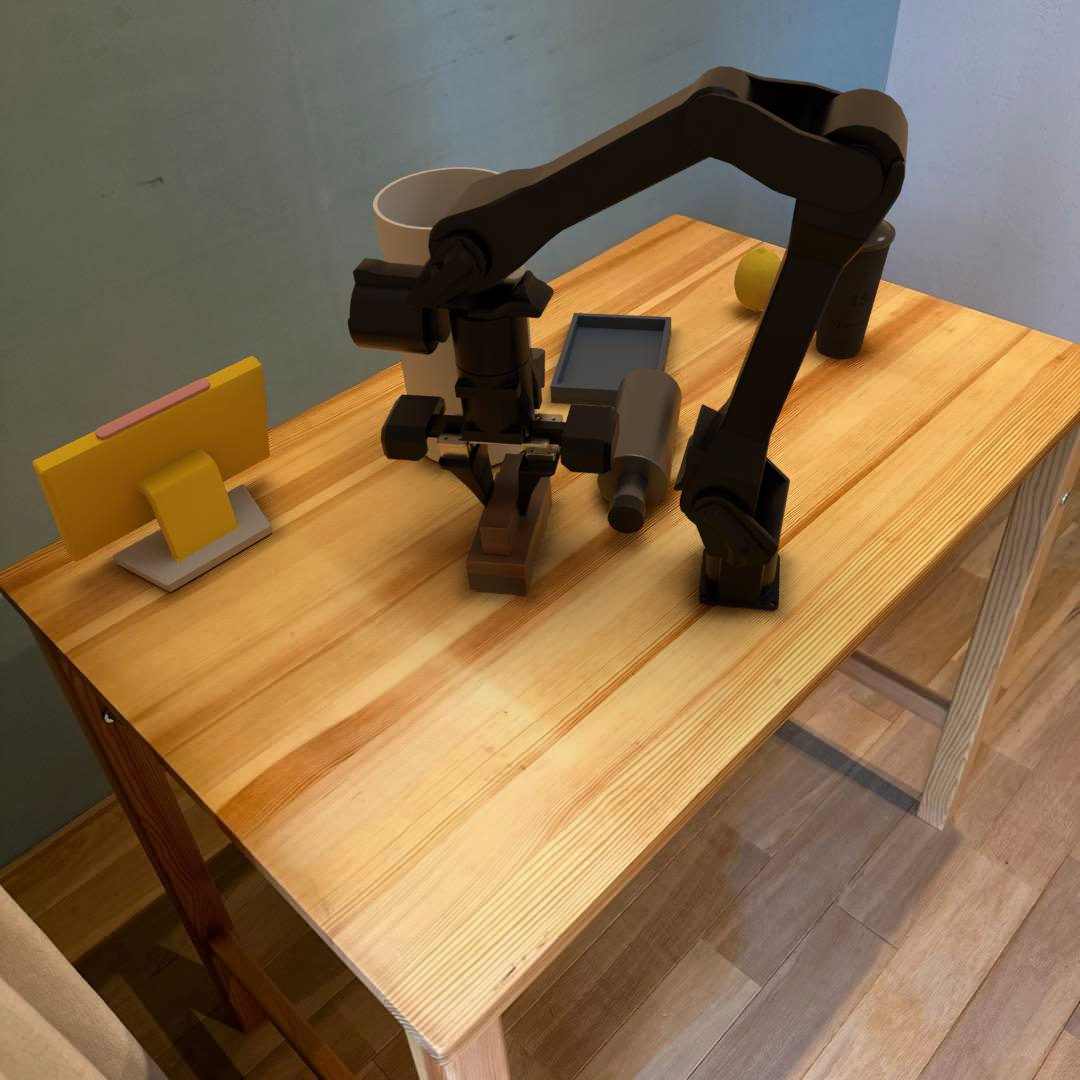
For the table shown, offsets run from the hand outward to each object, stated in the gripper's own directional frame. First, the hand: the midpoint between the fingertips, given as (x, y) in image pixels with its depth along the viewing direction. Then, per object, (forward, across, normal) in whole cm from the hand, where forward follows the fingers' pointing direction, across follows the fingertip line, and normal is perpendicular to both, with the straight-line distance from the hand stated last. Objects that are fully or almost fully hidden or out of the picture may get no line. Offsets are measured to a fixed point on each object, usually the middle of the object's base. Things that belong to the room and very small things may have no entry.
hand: (509, 511), depth 87 cm
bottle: (+4, -10, -10) cm, 15 cm away
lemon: (+4, -20, -43) cm, 48 cm away
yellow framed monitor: (+4, +29, +3) cm, 29 cm away
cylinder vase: (+4, +7, -16) cm, 18 cm away
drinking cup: (+4, -29, -36) cm, 46 cm away
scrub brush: (+4, 0, 0) cm, 4 cm away
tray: (+4, -5, -30) cm, 31 cm away
